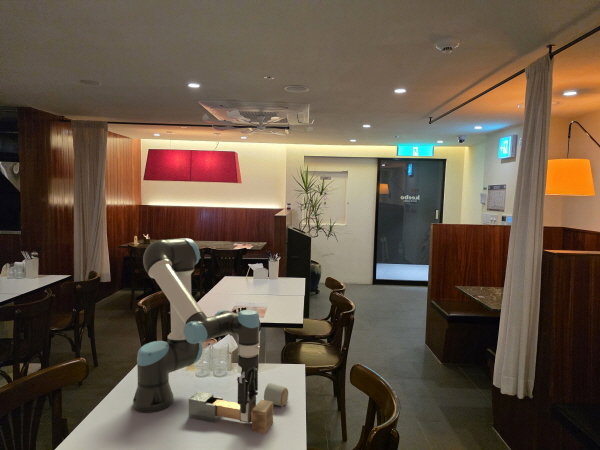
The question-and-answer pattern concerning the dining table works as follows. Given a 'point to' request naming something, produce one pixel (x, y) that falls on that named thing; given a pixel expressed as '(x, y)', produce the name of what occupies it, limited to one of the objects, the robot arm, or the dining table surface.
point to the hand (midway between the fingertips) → (247, 416)
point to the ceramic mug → (276, 394)
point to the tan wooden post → (234, 408)
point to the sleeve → (203, 407)
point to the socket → (262, 416)
